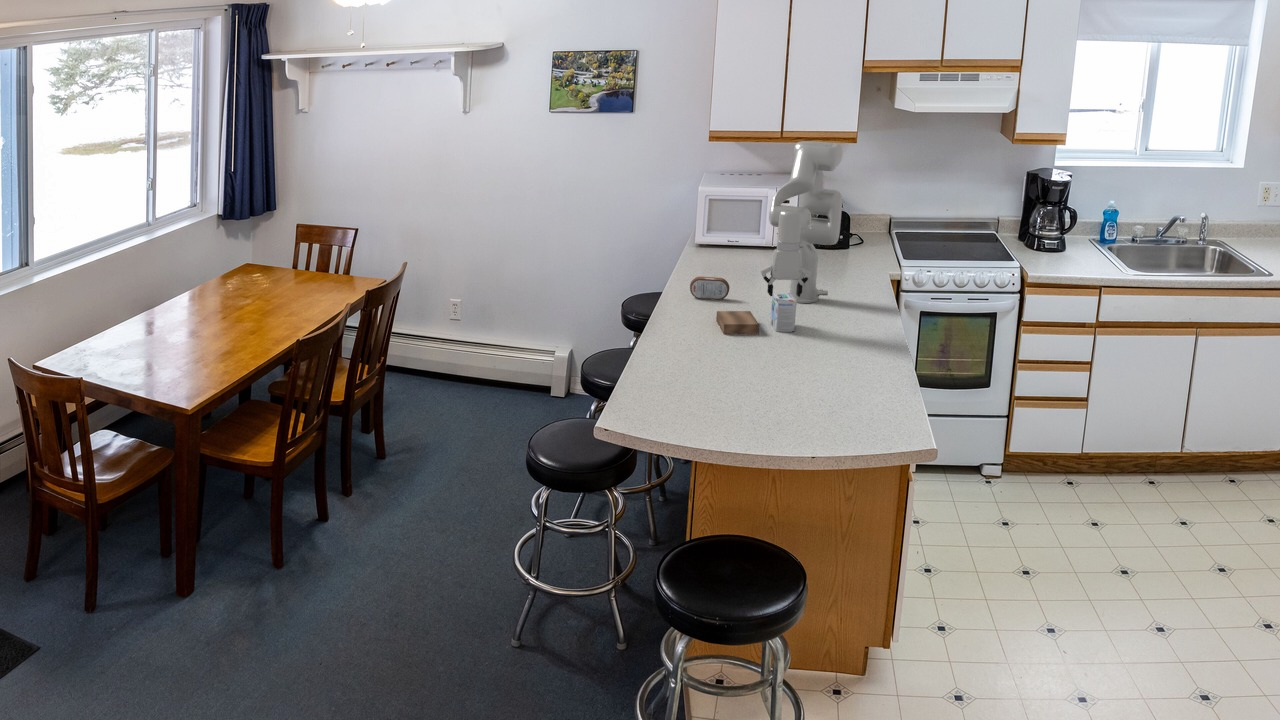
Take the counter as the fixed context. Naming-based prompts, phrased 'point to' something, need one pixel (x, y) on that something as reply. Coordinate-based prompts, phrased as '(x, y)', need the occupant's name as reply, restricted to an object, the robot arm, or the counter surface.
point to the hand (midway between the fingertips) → (784, 295)
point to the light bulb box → (783, 312)
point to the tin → (709, 288)
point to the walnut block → (737, 322)
